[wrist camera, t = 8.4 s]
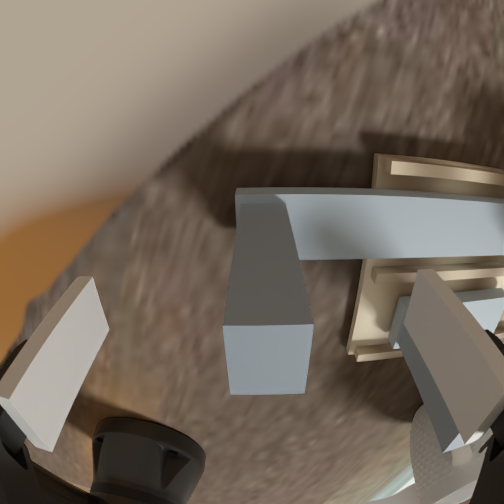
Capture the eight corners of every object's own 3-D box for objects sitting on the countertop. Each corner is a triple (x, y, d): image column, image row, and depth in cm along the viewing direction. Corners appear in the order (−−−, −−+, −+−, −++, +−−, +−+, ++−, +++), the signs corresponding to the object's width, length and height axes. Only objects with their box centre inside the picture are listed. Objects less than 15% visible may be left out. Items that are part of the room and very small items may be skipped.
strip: (239, 250, 20) (222, 402, 10) (236, 188, 18) (209, 310, 8) (557, 246, 19) (629, 312, 9) (567, 207, 17) (648, 266, 7)
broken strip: (387, 337, 23) (435, 458, 13) (399, 296, 22) (464, 421, 11) (486, 323, 23) (545, 412, 13) (501, 287, 21) (572, 375, 11)
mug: (378, 394, 29) (409, 504, 17) (470, 343, 26) (525, 441, 14) (407, 439, 34) (428, 517, 23) (476, 402, 31) (509, 476, 20)
